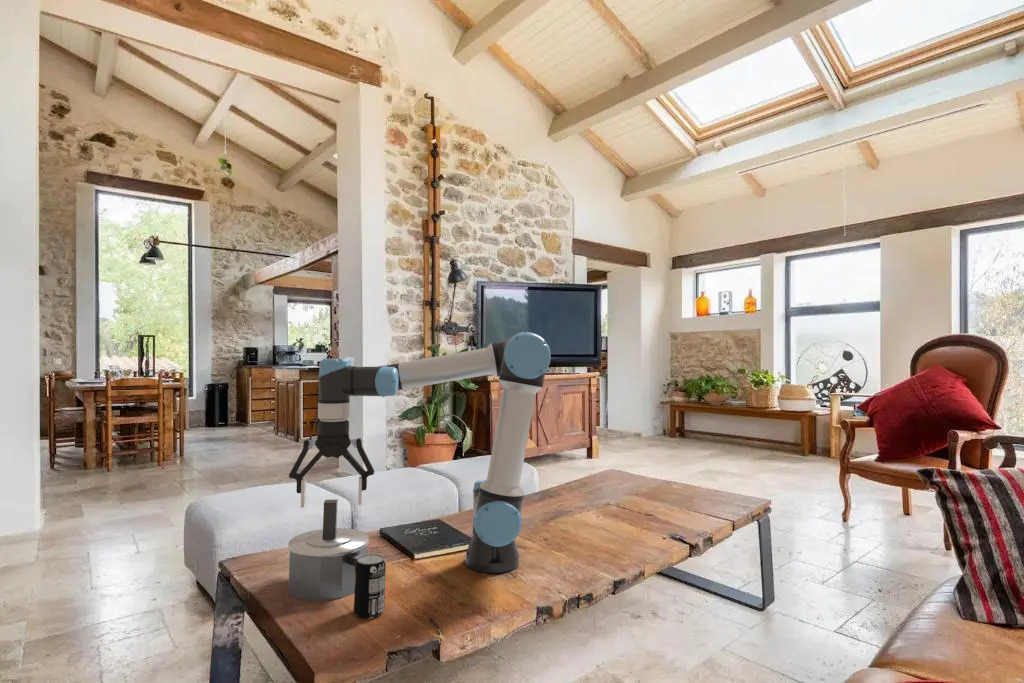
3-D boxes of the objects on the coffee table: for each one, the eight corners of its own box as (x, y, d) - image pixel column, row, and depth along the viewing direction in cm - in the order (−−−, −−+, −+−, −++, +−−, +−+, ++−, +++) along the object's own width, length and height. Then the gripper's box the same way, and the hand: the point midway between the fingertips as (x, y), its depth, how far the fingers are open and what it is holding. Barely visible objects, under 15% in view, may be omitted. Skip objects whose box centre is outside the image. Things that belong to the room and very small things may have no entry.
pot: (387, 586, 135) (388, 545, 135) (323, 611, 121) (325, 566, 121) (330, 562, 149) (331, 526, 150) (267, 583, 135) (269, 542, 135)
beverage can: (356, 606, 123) (358, 553, 124) (386, 606, 124) (387, 553, 124) (350, 620, 117) (352, 564, 117) (381, 619, 117) (383, 563, 118)
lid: (369, 530, 147) (371, 491, 147) (367, 555, 128) (368, 510, 128) (295, 533, 142) (296, 493, 143) (281, 559, 124) (283, 513, 124)
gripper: (384, 417, 143) (383, 498, 142) (283, 418, 137) (281, 503, 137) (384, 420, 136) (382, 506, 135) (277, 422, 130) (275, 511, 129)
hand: (331, 504), depth 136 cm, fingers open, 13 cm apart
